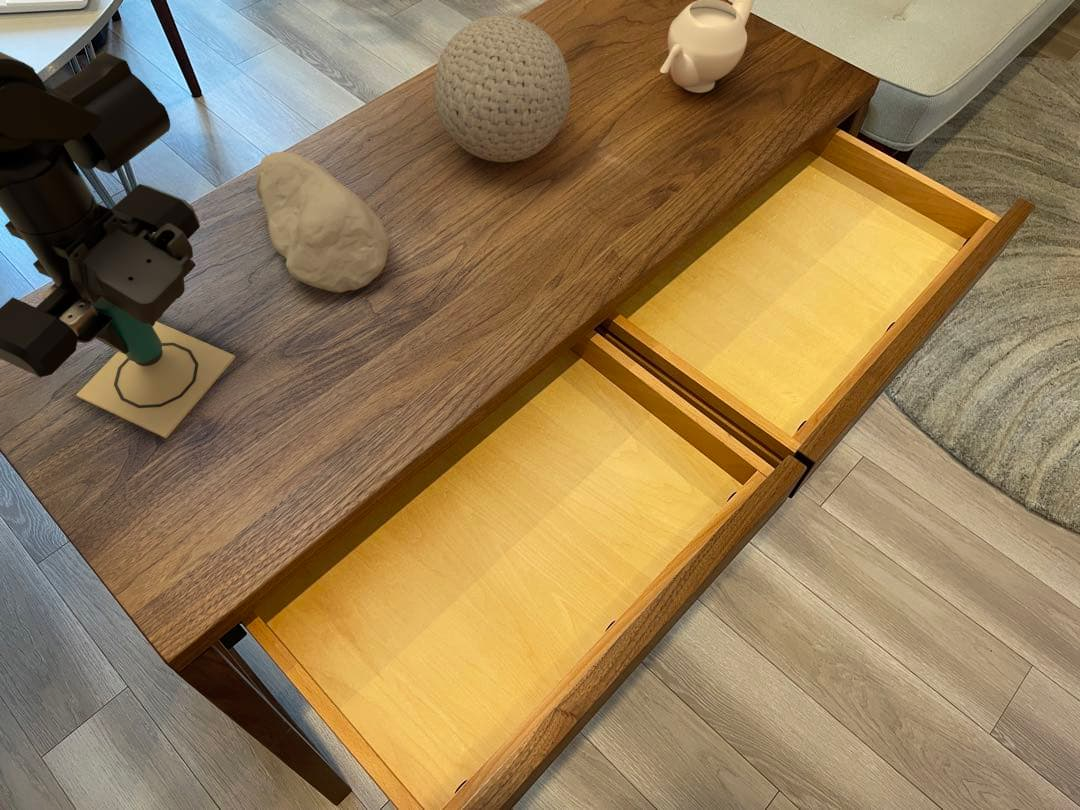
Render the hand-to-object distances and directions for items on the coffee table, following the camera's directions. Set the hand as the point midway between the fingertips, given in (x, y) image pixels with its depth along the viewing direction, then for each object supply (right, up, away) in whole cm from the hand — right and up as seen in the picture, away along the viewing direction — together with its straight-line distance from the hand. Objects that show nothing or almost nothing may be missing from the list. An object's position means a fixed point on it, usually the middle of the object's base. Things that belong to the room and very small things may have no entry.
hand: (136, 337), depth 70 cm
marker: (0, -1, +2) cm, 3 cm away
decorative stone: (+13, +11, +12) cm, 21 cm away
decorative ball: (+32, +24, +22) cm, 46 cm away
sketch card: (+1, -3, +2) cm, 4 cm away
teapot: (+57, +35, +30) cm, 73 cm away
